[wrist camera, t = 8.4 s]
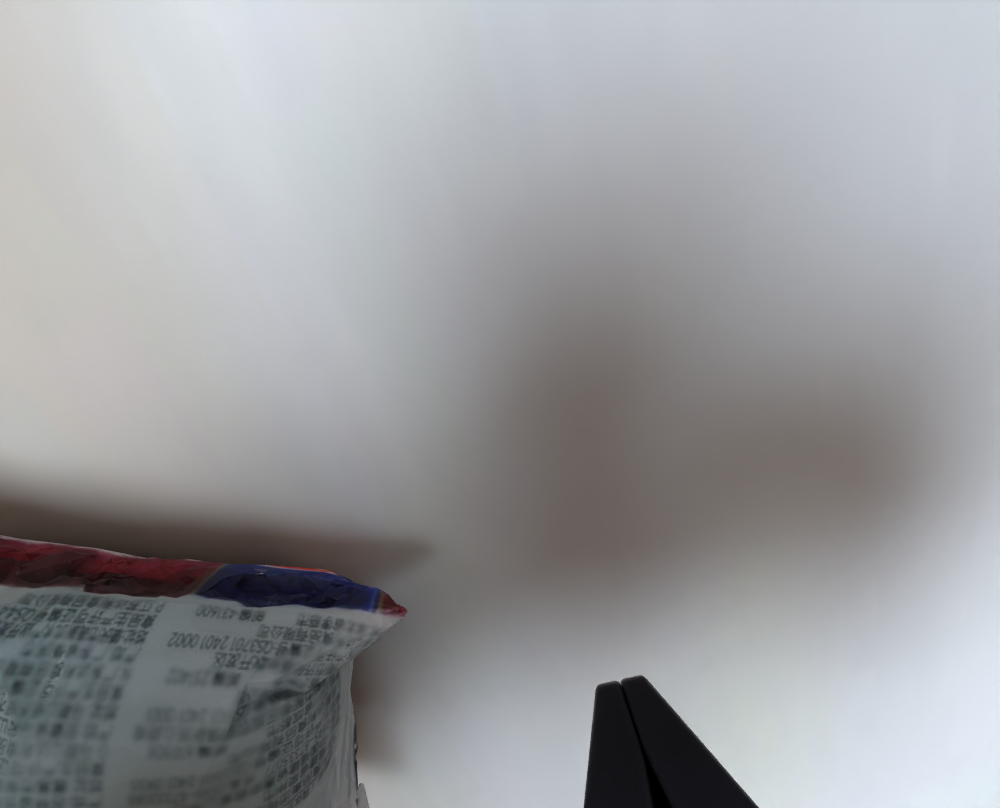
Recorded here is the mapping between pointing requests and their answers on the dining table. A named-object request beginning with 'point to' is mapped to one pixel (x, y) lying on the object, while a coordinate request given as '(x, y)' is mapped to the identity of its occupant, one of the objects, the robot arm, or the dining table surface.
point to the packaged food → (178, 681)
